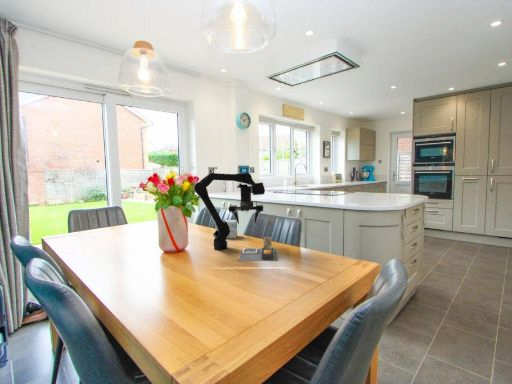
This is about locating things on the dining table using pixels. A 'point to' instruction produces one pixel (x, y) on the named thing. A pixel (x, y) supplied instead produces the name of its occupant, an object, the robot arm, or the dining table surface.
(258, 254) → the grey shape sorting board
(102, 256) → the dining table surface
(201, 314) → the dining table surface
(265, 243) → the block
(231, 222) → the light bulb box
